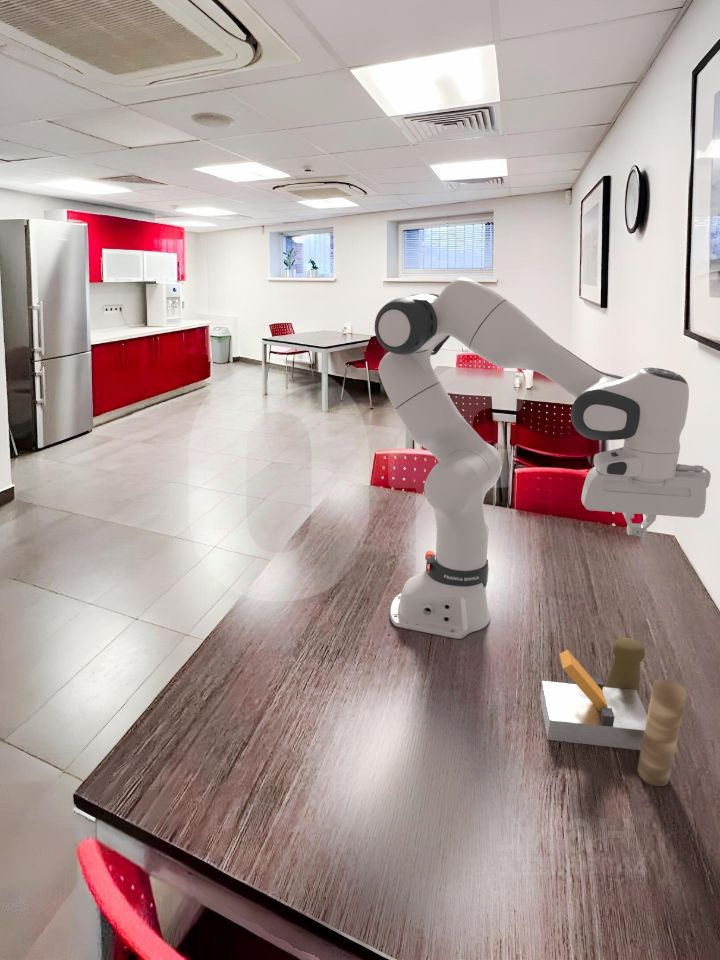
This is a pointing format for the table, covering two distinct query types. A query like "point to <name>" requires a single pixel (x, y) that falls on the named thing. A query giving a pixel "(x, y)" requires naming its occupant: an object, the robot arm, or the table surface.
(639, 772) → the oak post
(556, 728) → the breaker box
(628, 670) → the olive knobbed post
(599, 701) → the lever
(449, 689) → the table surface
